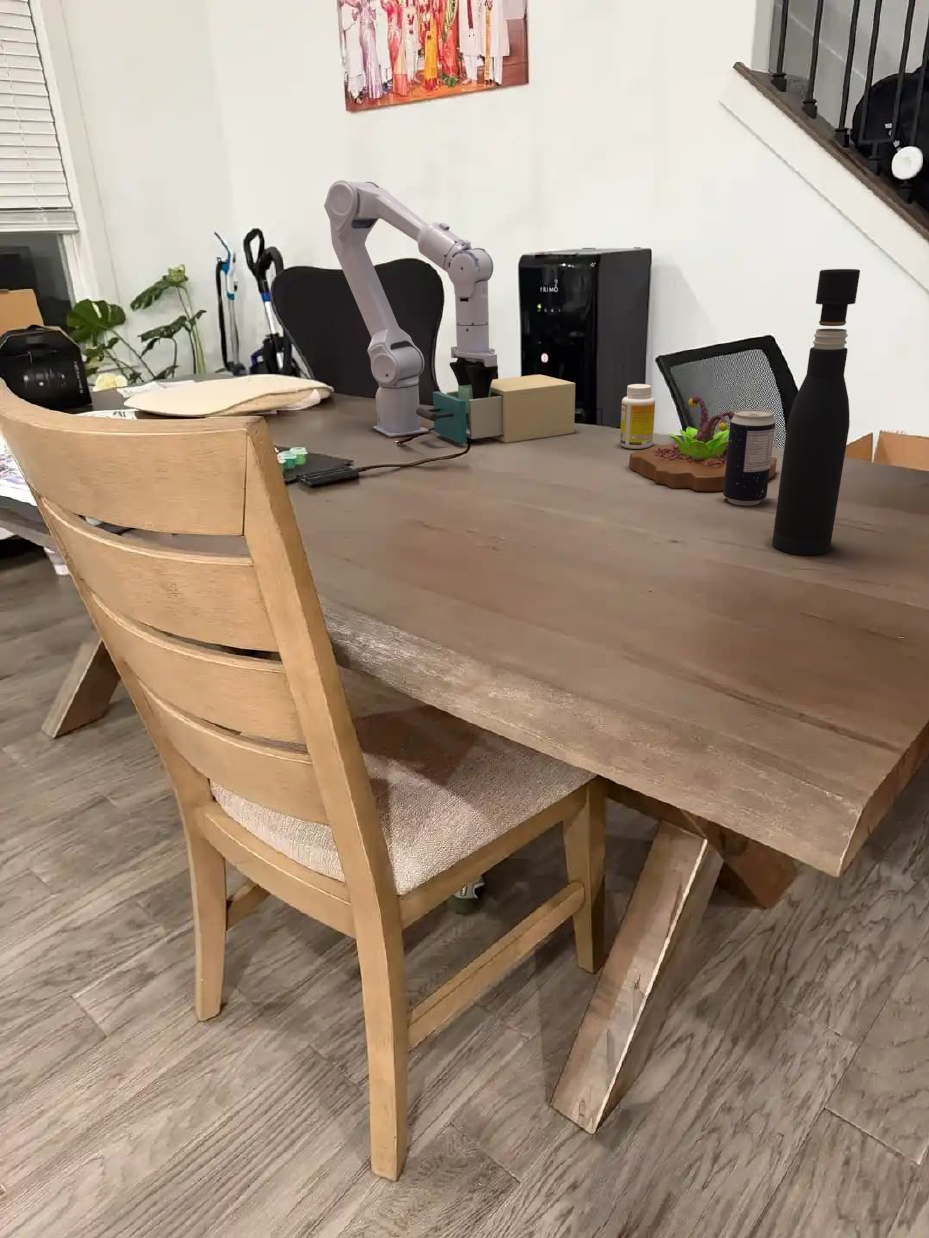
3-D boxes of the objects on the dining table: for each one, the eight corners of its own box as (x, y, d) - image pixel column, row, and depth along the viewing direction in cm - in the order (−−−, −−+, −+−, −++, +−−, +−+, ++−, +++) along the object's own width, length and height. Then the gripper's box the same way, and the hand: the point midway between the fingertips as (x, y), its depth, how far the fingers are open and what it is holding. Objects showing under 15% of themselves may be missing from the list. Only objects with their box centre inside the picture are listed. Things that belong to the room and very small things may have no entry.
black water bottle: (824, 559, 95) (868, 271, 82) (765, 550, 98) (800, 272, 86) (835, 542, 100) (878, 268, 87) (779, 534, 103) (813, 268, 90)
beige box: (505, 443, 152) (504, 391, 148) (474, 430, 162) (472, 381, 158) (574, 433, 157) (575, 383, 153) (539, 421, 168) (540, 374, 164)
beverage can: (766, 496, 117) (776, 409, 112) (765, 508, 112) (776, 417, 107) (723, 494, 119) (732, 407, 114) (721, 505, 114) (729, 416, 109)
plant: (705, 450, 142) (711, 382, 137) (796, 475, 126) (806, 399, 121) (608, 467, 134) (611, 396, 129) (693, 497, 118) (700, 416, 113)
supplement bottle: (659, 446, 146) (663, 385, 142) (638, 451, 143) (641, 389, 138) (634, 441, 150) (637, 382, 146) (613, 446, 147) (615, 386, 142)
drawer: (437, 446, 147) (435, 404, 144) (412, 434, 156) (409, 394, 153) (527, 434, 154) (527, 393, 150) (498, 423, 163) (497, 384, 160)
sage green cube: (458, 410, 154) (457, 385, 153) (480, 407, 156) (479, 383, 154) (469, 414, 151) (468, 389, 149) (491, 411, 153) (490, 386, 151)
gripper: (512, 325, 143) (513, 407, 148) (474, 319, 155) (476, 395, 160) (475, 329, 140) (477, 411, 146) (439, 322, 152) (442, 399, 158)
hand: (474, 403), depth 153 cm, fingers closed on sage green cube, 4 cm apart
